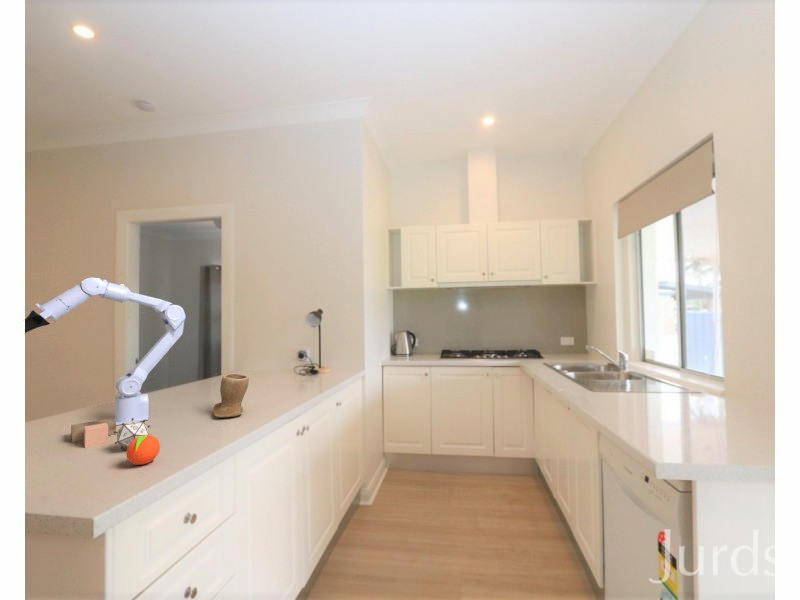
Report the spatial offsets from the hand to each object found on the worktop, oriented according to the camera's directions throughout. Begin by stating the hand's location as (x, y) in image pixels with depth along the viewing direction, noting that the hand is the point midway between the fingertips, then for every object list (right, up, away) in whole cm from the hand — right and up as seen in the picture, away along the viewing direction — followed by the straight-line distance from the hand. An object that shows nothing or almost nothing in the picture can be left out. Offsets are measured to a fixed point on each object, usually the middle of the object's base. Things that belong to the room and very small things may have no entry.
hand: (16, 332), depth 109 cm
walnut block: (+21, -33, +2) cm, 39 cm away
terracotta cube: (+28, -32, -4) cm, 42 cm away
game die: (+42, -32, -9) cm, 53 cm away
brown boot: (+53, -33, +26) cm, 68 cm away
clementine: (+52, -31, -19) cm, 64 cm away
